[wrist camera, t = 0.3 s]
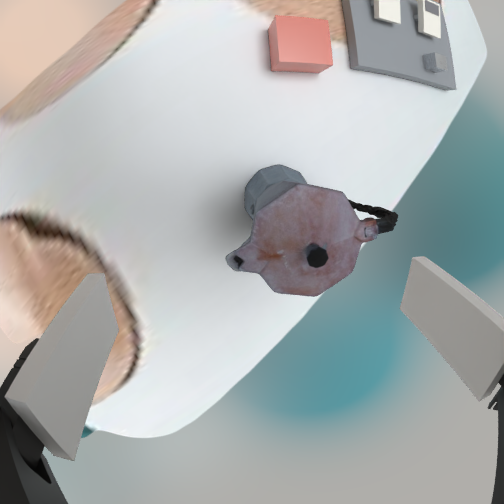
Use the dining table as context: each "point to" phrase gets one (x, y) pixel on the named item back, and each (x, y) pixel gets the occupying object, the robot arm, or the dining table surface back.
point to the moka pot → (303, 232)
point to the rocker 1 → (387, 11)
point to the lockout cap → (299, 44)
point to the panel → (395, 44)
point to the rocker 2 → (429, 18)
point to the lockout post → (435, 62)
